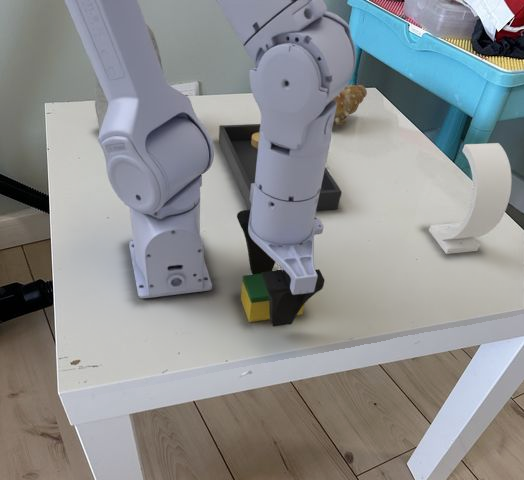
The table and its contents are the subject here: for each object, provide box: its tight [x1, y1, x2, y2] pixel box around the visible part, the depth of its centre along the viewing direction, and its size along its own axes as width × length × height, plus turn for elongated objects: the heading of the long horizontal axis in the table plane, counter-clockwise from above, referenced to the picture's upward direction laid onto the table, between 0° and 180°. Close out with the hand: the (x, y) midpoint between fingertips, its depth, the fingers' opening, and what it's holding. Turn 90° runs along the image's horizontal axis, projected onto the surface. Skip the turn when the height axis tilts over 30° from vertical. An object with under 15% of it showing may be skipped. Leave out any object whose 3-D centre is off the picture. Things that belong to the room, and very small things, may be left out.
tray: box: [218, 123, 343, 212], centre depth 71 cm, size 19×12×3 cm, turn 16°
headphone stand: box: [428, 142, 512, 255], centre depth 61 cm, size 5×6×12 cm
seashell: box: [332, 84, 368, 126], centre depth 83 cm, size 9×8×10 cm
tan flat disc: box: [251, 132, 259, 149], centre depth 76 cm, size 3×3×1 cm
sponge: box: [240, 273, 305, 323], centre depth 53 cm, size 6×4×4 cm, turn 106°
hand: (270, 297), depth 53 cm, fingers open, 7 cm apart
